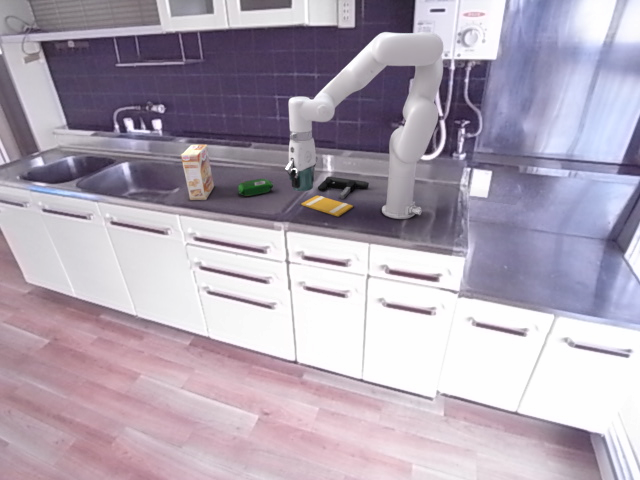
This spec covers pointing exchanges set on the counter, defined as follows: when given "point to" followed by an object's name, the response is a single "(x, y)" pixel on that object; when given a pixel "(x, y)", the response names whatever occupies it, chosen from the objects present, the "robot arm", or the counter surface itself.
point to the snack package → (255, 187)
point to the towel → (327, 205)
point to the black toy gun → (342, 185)
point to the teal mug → (305, 179)
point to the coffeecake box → (197, 172)
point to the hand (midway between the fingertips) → (302, 183)
